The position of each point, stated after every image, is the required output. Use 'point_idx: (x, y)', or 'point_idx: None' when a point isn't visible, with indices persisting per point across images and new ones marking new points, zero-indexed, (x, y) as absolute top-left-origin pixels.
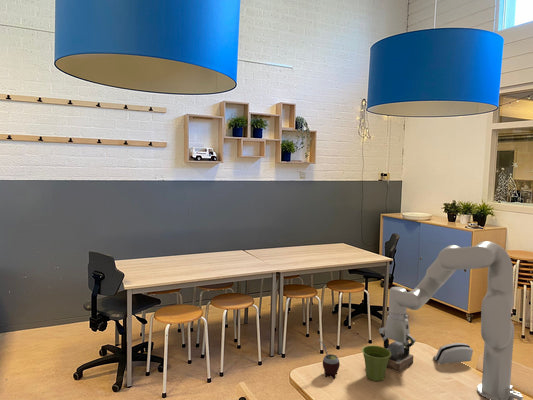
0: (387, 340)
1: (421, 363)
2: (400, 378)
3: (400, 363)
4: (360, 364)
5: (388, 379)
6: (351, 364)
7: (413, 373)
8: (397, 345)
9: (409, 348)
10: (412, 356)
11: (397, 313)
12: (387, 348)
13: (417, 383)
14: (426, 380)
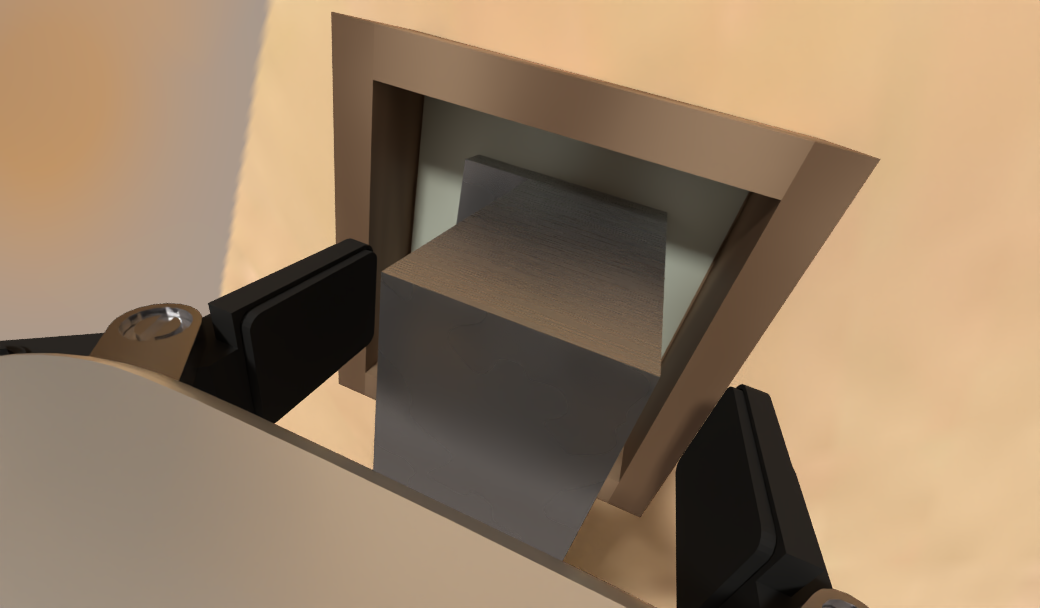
0: (252, 369)
1: (1018, 51)
2: (667, 520)
3: (644, 495)
4: (337, 402)
5: (578, 541)
6: (300, 419)
7: (806, 420)
8: (510, 534)
9: (830, 585)
10: (847, 198)
11: None
12: (359, 122)
13: (838, 569)
14: (971, 519)
